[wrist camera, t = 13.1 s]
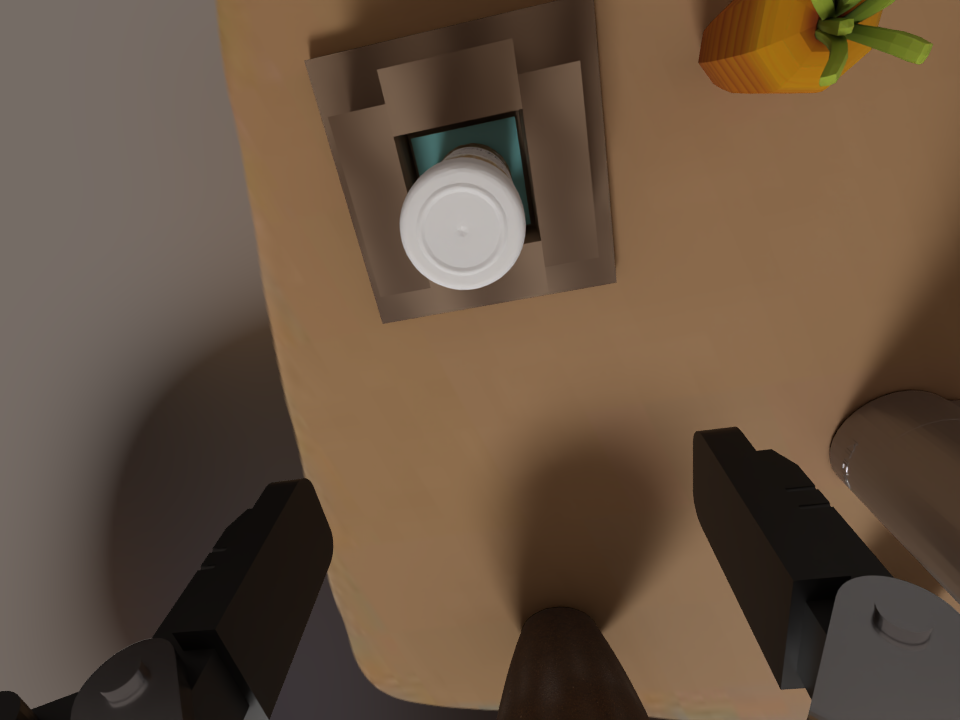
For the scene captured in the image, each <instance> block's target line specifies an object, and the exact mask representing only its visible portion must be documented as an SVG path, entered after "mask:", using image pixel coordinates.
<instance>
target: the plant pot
mask: <svg viewBox="0 0 960 720" xmlns="http://www.w3.org/2000/svg"><path fill="white" fill-rule="evenodd" d="M497 720H650V719H649V717H648V715H647V713H646V711H645V709H644V707H643V705H642V703H641V701H640V699H639V697H638V695H637V693H636V691H635V689H634V687H633V685H632V683H631V682H630V680H629V678H628V676H627V674H626V672H625V671H624V669H623V667H622V665H621V664H620V662H619V660H618V659H617V657H616V655H615V654H614V652H613V650H612V649H611V647H610V645H609V644H608V642H607V641H606V639H605V638H604V636H603V635H602V633H601V632H600V630H599V629H598V627H597V626H596V624H595V623H594V621H593V620H592V619H591V618H590V617H589V616H588V615H586V614H585V613H583V612H581V611H579V610H575V609H572V608H563V607H558V608H550V609H546V610H543V611H540V612H538V613H536V614H534V615H533V616H532V617H530V618H529V619H528V620H527V621H526V623H525V624H524V626H523V628H522V631H521V634H520V637H519V639H518V642H517V645H516V648H515V651H514V654H513V657H512V660H511V664H510V667H509V671H508V674H507V678H506V682H505V686H504V690H503V694H502V698H501V702H500V707H499V711H498V716H497Z"/></svg>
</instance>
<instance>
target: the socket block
mask: <svg viewBox="0 0 960 720" xmlns="http://www.w3.org/2000/svg"><path fill="white" fill-rule="evenodd" d="M305 65H306V68H307V71H308V75H309V78H310V82H311V85H312V88H313V92H314V95H315V98H316V102H317V105H318V108H319V112H320V115H321V118H322V122H323V125H324V128H325V132H326V135H327V138H328V142H329V145H330V149H331V152H332V155H333V159H334V162H335V165H336V169H337V172H338V175H339V179H340V182H341V185H342V189H343V192H344V195H345V199H346V202H347V205H348V209H349V212H350V215H351V219H352V222H353V226H354V229H355V232H356V236H357V239H358V242H359V246H360V249H361V252H362V256H363V259H364V262H365V266H366V269H367V272H368V276H369V279H370V282H371V286H372V289H373V293H374V296H375V299H376V303H377V306H378V309H379V313H380V316H381V319H382V323H383V324H384V323H390V322H395V321H401V320H407V319H412V318H418V317H424V316H429V315H435V314H441V313H446V312H452V311H458V310H463V309H469V308H475V307H480V306H486V305H492V304H497V303H503V302H509V301H514V300H520V299H526V298H531V297H537V296H543V295H549V294H554V293H560V292H566V291H571V290H577V289H583V288H588V287H594V286H600V285H605V284H611V283H617V282H616V270H615V258H614V245H613V233H612V221H611V208H610V196H609V184H608V171H607V159H606V147H605V134H604V122H603V110H602V97H601V85H600V73H599V60H598V48H597V36H596V23H595V11H594V0H557V1H553V2H549V3H545V4H540V5H536V6H532V7H528V8H524V9H519V10H515V11H511V12H507V13H503V14H498V15H494V16H490V17H486V18H482V19H477V20H473V21H469V22H465V23H461V24H456V25H452V26H448V27H444V28H440V29H435V30H431V31H427V32H423V33H418V34H414V35H410V36H406V37H402V38H397V39H393V40H389V41H385V42H381V43H376V44H372V45H368V46H364V47H360V48H355V49H351V50H347V51H343V52H339V53H334V54H330V55H326V56H322V57H318V58H313V59H309V60H305ZM514 116H515V121H516V128H517V135H518V141H519V148H520V155H521V162H522V168H523V175H524V182H525V188H526V195H527V202H528V209H529V215H530V222H531V224H528V225H526V233H525V239H524V244H523V247H522V250H521V253H520V255H519V257H518V258H517V260H516V262H515V263H514V265H513V266H512V267H511V269H510V270H509V271H508V272H507V273H506V274H504V275H503V276H502V277H501V278H500V279H498V280H496V281H495V282H493V283H491V284H489V285H487V286H484V287H481V288H477V289H470V290H457V289H451V288H447V287H444V286H441V285H439V284H436V283H434V282H433V281H431V280H429V279H428V278H427V277H425V276H424V275H423V274H421V273H420V272H419V271H418V270H417V269H416V267H415V266H414V265H413V264H412V262H411V261H410V259H409V257H408V256H407V254H406V252H405V249H404V247H403V244H402V240H401V235H400V214H401V209H402V206H403V202H404V200H405V197H406V195H407V194H408V192H409V190H410V189H411V187H412V186H413V184H414V183H415V182H416V181H417V179H418V178H419V177H420V176H419V172H418V167H417V163H416V159H415V155H414V150H413V146H412V142H411V139H412V138H416V137H421V136H426V135H430V134H435V133H440V132H444V131H449V130H454V129H458V128H463V127H467V126H472V125H477V124H481V123H486V122H491V121H495V120H500V119H505V118H509V117H514Z"/></svg>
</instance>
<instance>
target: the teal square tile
mask: <svg viewBox="0 0 960 720" xmlns="http://www.w3.org/2000/svg"><path fill="white" fill-rule="evenodd" d="M411 142H412V146H413V150H414V155H415V159H416V163H417V167H418V172H419V176H421V175H422V174H423V173H424V172H426V171H427V170H428V169H429V168H431V167H432V166H434V165H435V164H438V163H440V162H441V161H442V160H443V159H444V157H445V156H446V155H447V154H448V153H449V152H450V151H451V150H453V149H454V148H456V147H458V146H460V145H466V144H469V143H477V144H483V145H486V146H489V147H490V148H492V149H494V150H495V151H496V152H497V153H499V154H500V155H501V156H502V157H503V158H504V160H505V161H506V163H507V165H508V166H509V169H510V172H511V177H512V181H513V184H514V186H515V188H516V190H517V191H518V193H519V196H520V198H521V201H522V204H523V208H524V213H525V221H526V225H528V224H531V222H530V215H529V209H528V202H527V195H526V188H525V182H524V175H523V168H522V162H521V155H520V148H519V141H518V135H517V128H516V121H515V116H514V117H509V118H505V119H500V120H495V121H491V122H486V123H481V124H477V125H472V126H467V127H463V128H458V129H454V130H449V131H444V132H440V133H435V134H430V135H426V136H421V137H416V138H412V139H411Z"/></svg>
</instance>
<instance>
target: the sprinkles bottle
mask: <svg viewBox="0 0 960 720" xmlns="http://www.w3.org/2000/svg"><path fill="white" fill-rule="evenodd" d="M525 233H526V221H525V213H524V208H523V204H522V201H521V198H520V196H519V193H518V191H517V190H516V188H515V186H514V184H513V181H512V177H511V172H510V169H509V166H508V165H507V163H506V161H505V160H504V158H503V157H502V156H501V155H500V154H499V153H497V152H496V151H495V150H494V149H492V148H490V147H489V146H486V145H483V144H477V143H469V144H466V145H460V146H458V147H456V148H454V149H453V150H451V151H450V152H449V153H448V154H447V155H446V156H445V157H444V159H443V160H442V161H441V162H440V163H438V164H435V165H434V166H432V167H431V168H429V169H428V170H427V171H426V172H424V173H423V174H422V175H421V176H420V177H419V178H418V179H417V181H416V182H415V183H414V184H413V186H412V187H411V189H410V190H409V192H408V194H407V195H406V197H405V200H404V202H403V206H402V209H401V214H400V235H401V240H402V244H403V247H404V249H405V252H406V254H407V256H408V257H409V259H410V261H411V262H412V264H413V265H414V266H415V267H416V269H417V270H418V271H419V272H420V273H421V274H423V275H424V276H425V277H427V278H428V279H429V280H431V281H433V282H434V283H436V284H439V285H441V286H444V287H447V288H451V289H457V290H470V289H477V288H481V287H484V286H487V285H489V284H491V283H493V282H495V281H496V280H498V279H500V278H501V277H502V276H503V275H504V274H506V273H507V272H508V271H509V270H510V269H511V267H512V266H513V265H514V263H515V262H516V260H517V258H518V257H519V255H520V253H521V250H522V247H523V244H524V239H525Z"/></svg>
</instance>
